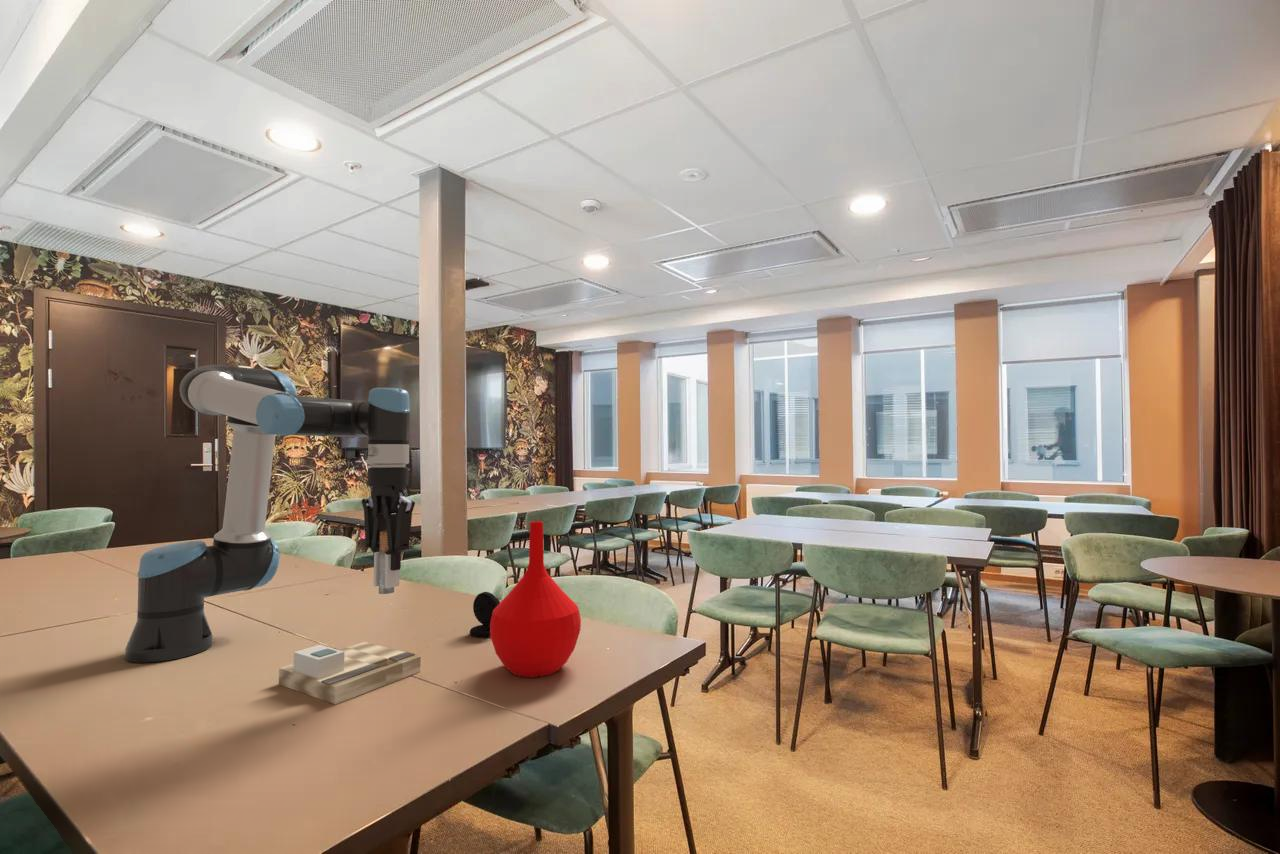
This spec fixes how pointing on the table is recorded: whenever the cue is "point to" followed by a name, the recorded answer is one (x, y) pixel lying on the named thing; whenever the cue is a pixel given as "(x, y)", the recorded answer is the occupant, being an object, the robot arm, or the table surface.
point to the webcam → (483, 613)
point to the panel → (355, 673)
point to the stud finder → (318, 661)
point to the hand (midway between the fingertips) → (386, 585)
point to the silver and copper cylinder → (383, 563)
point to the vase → (535, 619)
